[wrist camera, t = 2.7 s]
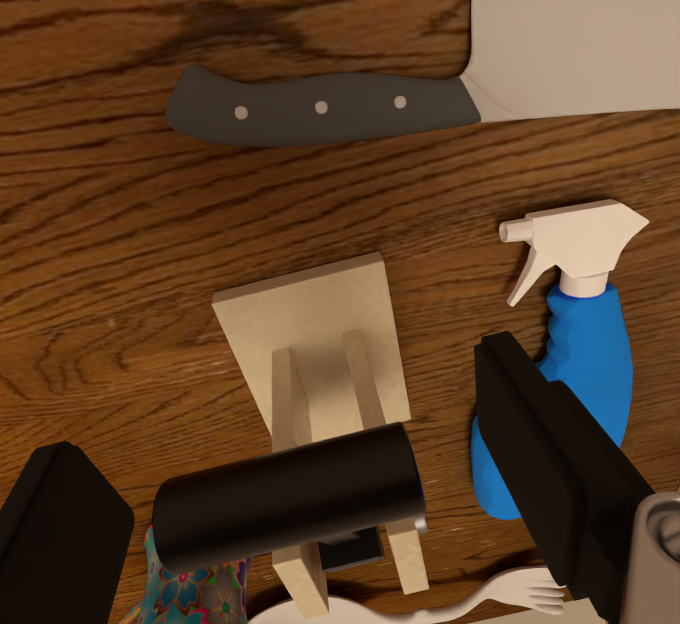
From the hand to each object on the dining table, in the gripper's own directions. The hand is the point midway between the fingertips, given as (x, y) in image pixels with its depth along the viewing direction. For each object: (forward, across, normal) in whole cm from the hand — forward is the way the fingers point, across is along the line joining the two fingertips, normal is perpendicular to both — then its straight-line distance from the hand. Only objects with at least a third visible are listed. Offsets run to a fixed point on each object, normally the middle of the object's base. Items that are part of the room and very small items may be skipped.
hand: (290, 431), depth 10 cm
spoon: (+14, -1, +40) cm, 43 cm away
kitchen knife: (+14, -12, -4) cm, 19 cm away
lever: (+2, 0, +4) cm, 5 cm away
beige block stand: (+14, 0, +9) cm, 16 cm away
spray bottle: (+14, -14, +15) cm, 25 cm away
